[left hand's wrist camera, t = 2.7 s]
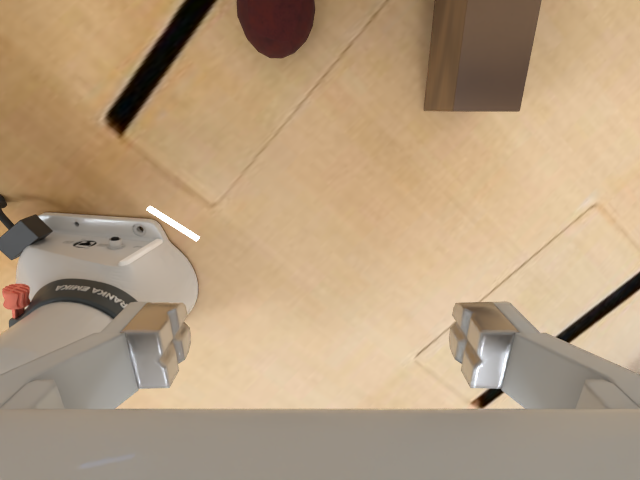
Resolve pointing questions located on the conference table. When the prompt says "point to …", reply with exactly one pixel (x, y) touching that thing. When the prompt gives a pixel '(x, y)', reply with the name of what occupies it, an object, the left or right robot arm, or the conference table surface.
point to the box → (480, 54)
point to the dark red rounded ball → (276, 24)
